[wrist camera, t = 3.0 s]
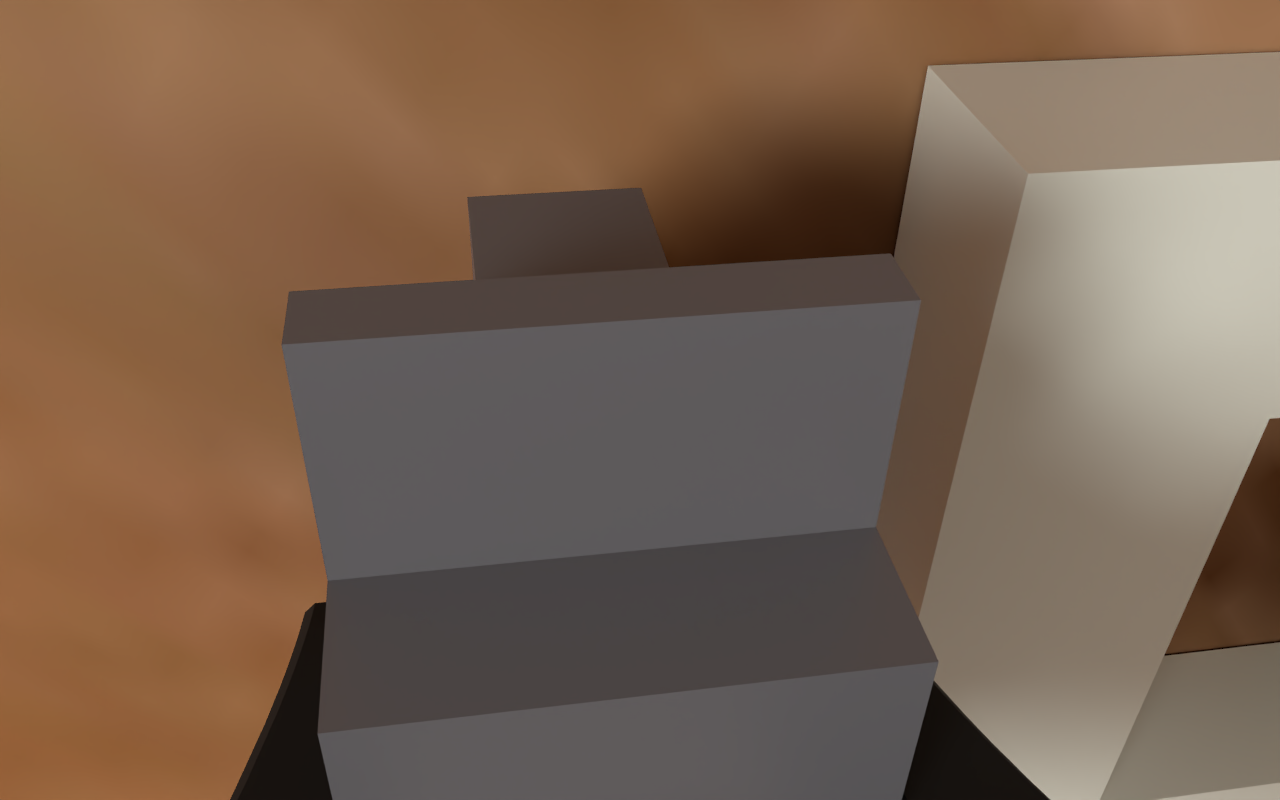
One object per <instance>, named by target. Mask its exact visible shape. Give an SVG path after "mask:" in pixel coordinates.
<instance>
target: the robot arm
mask: <svg viewBox="0 0 1280 800" xmlns="http://www.w3.org/2000/svg"><path fill="white" fill-rule="evenodd" d="M325 615H326V602H323V603H315V604H314V605H313V606H312V607H311V608H309V609H308V610H307V611H306V612H305V615H304V618H303V622H302V625H301V629H300V632H299V636H298V639H297V642H296V645H295V648H294V651H293V654H292V656H291V659H290V662H289V665H288V668H287V670H286V673H285V676H284V678H283V681H282V684H281V686H280V689H279V691H278V694H277V696H276V698H275V701H274V703H273V706H272V708H271V711H270V713H269V716H268V718H267V720H266V723H265V725H264V728H263V730H262V732H261V734H260V736H259V738H258V741H257V743H256V745H255V747H254V749H253V751H252V754H251V756H250V758H249V760H248V762H247V765H246V767H245V769H244V771H243V773H242V775H241V778H240V780H239V782H238V784H237V786H236V789H235V791H234V793H233V795H232V797H231V799H230V800H333V799H332V795H331V790H330V786H329V782H328V777H327V773H326V769H325V764H324V760H323V755H322V751H321V747H320V742H319V738H318V720H319V705H320V690H321V675H322V660H323V645H324V630H325ZM902 800H1050V799H1049V798H1048V797H1047V796H1046V795H1045V794H1044V793H1043V792H1042V791H1041V790H1040V789H1039V788H1037V787H1036V786H1035V785H1034V784H1033V783H1032V782H1031V781H1030V780H1029V779H1028V778H1027V777H1026V776H1025V775H1024V774H1023V773H1022V772H1021V771H1020V770H1019V769H1018V768H1017V767H1016V766H1015V765H1014V764H1013V763H1012V762H1011V761H1010V760H1009V759H1008V758H1007V757H1006V756H1005V755H1004V754H1003V753H1002V752H1001V751H1000V750H999V749H998V748H997V747H996V746H995V745H994V744H993V743H992V742H991V741H990V740H989V739H988V738H987V737H986V736H985V735H984V734H983V733H982V732H981V731H980V730H979V729H978V728H977V727H976V726H975V725H974V724H973V722H972V721H971V720H970V719H969V718H968V717H967V716H966V715H965V714H964V713H963V712H962V711H961V710H960V708H959V707H958V706H957V705H956V704H955V703H954V702H953V701H952V700H951V699H950V698H949V696H948V695H947V694H946V693H945V692H944V691H943V690H942V689H941V688H940V687H939V685H938V684H937V683H936V682H935V681H933V685H932V689H931V692H930V696H929V700H928V704H927V707H926V711H925V715H924V719H923V722H922V726H921V730H920V733H919V737H918V741H917V745H916V748H915V752H914V756H913V760H912V763H911V767H910V771H909V774H908V778H907V782H906V786H905V789H904V793H903V797H902Z"/></svg>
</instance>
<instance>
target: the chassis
mask: <svg viewBox="0 0 1280 800" xmlns="http://www.w3.org/2000/svg"><path fill="white" fill-rule="evenodd" d="M894 259H895V261H896V262H897V264H898V266H899V267H900V269H901V270H902V272H903V273H904V275H905V276H906V278H907V279H908V281H909V282H910V284H911V285H912V287H913V288H914V290H915V291H916V293H917V295H918V296H919V298H920V299H921V303H920V308H919V313H918V318H917V323H916V329H915V334H914V339H913V344H912V349H911V354H910V359H909V364H908V369H907V374H906V379H905V384H904V389H903V394H902V399H901V404H900V409H899V414H898V419H897V424H896V429H895V434H894V439H893V444H892V449H891V454H890V459H889V464H888V469H887V475H886V480H885V485H884V490H883V495H882V500H881V505H880V510H879V515H878V520H877V525H876V528H877V530H878V532H879V534H880V537H881V539H882V541H883V543H884V545H885V547H886V549H887V552H888V554H889V556H890V558H891V560H892V562H893V564H894V567H895V569H896V571H897V573H898V575H899V577H900V579H901V582H902V584H903V586H904V588H905V590H906V592H907V595H908V597H909V599H910V601H911V603H912V605H913V607H914V610H915V612H916V614H917V616H918V618H919V620H920V622H921V625H922V627H923V629H924V631H925V633H926V635H927V638H928V640H929V642H930V644H931V646H932V648H933V650H934V653H935V655H936V657H937V659H938V661H939V663H938V666H937V670H936V674H935V678H934V681H935V682H936V683H937V684H938V685H939V687H940V688H941V689H942V690H943V691H944V692H945V693H946V694H947V695H948V696H949V698H950V699H951V700H952V701H953V702H954V703H955V704H956V705H957V706H958V707H959V708H960V710H961V711H962V712H963V713H964V714H965V715H966V716H967V717H968V718H969V719H970V720H971V721H972V722H973V724H974V725H975V726H976V727H977V728H978V729H979V730H980V731H981V732H982V733H983V734H984V735H985V736H986V737H987V738H988V739H989V740H990V741H991V742H992V743H993V744H994V745H995V746H996V747H997V748H998V749H999V750H1000V751H1001V752H1002V753H1003V754H1004V755H1005V756H1006V757H1007V758H1008V759H1009V760H1010V761H1011V762H1012V763H1013V764H1014V765H1015V766H1016V767H1017V768H1018V769H1019V770H1020V771H1021V772H1022V773H1023V774H1024V775H1025V776H1026V777H1027V778H1028V779H1029V780H1030V781H1031V782H1032V783H1033V784H1034V785H1035V786H1036V787H1037V788H1039V789H1040V790H1041V791H1042V792H1043V793H1044V794H1045V795H1046V796H1047V797H1048V798H1049V799H1050V800H1280V642H1278V643H1270V644H1261V645H1253V646H1244V647H1236V648H1227V649H1218V650H1210V651H1201V652H1193V653H1184V654H1176V655H1167V656H1164V655H1165V653H1166V650H1167V648H1168V646H1169V644H1170V641H1171V639H1172V637H1173V635H1174V632H1175V630H1176V628H1177V626H1178V623H1179V621H1180V619H1181V617H1182V614H1183V612H1184V610H1185V608H1186V605H1187V603H1188V601H1189V599H1190V596H1191V594H1192V592H1193V590H1194V587H1195V585H1196V583H1197V581H1198V578H1199V576H1200V574H1201V572H1202V569H1203V567H1204V565H1205V563H1206V560H1207V558H1208V556H1209V554H1210V551H1211V549H1212V547H1213V545H1214V543H1215V540H1216V538H1217V536H1218V534H1219V531H1220V529H1221V527H1222V525H1223V522H1224V520H1225V518H1226V516H1227V513H1228V511H1229V509H1230V507H1231V504H1232V502H1233V500H1234V498H1235V495H1236V493H1237V491H1238V489H1239V486H1240V484H1241V482H1242V480H1243V477H1244V475H1245V473H1246V471H1247V468H1248V466H1249V464H1250V462H1251V459H1252V457H1253V455H1254V453H1255V450H1256V448H1257V446H1258V444H1259V441H1260V439H1261V437H1262V435H1263V432H1264V430H1265V428H1266V426H1267V423H1268V421H1269V419H1271V418H1280V52H1264V53H1238V54H1212V55H1187V56H1161V57H1136V58H1110V59H1085V60H1059V61H1033V62H1008V63H982V64H957V65H931V66H928V69H927V74H926V80H925V85H924V91H923V97H922V102H921V108H920V113H919V119H918V125H917V130H916V136H915V141H914V147H913V153H912V158H911V164H910V169H909V175H908V181H907V186H906V192H905V197H904V203H903V209H902V214H901V220H900V225H899V231H898V237H897V242H896V248H895V253H894Z"/></svg>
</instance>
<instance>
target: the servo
mask: <svg viewBox="0 0 1280 800" xmlns="http://www.w3.org/2000/svg"><path fill="white" fill-rule="evenodd" d="M467 198H468V211H469V225H470V239H471V253H472V267H473V280H464V281H449V282H433V283H417V284H401V285H386V286H370V287H354V288H338V289H323V290H307V291H291V292H289V296H288V304H287V311H286V318H285V325H284V332H283V339H282V349H283V354H284V359H285V364H286V369H287V374H288V379H289V385H290V390H291V395H292V400H293V405H294V410H295V415H296V420H297V426H298V431H299V436H300V441H301V446H302V451H303V456H304V461H305V467H306V472H307V477H308V482H309V487H310V492H311V497H312V502H313V508H314V513H315V518H316V523H317V528H318V533H319V538H320V543H321V549H322V554H323V559H324V564H325V569H326V574H327V579H328V585H327V600H326V615H325V630H324V645H323V660H322V675H321V690H320V705H319V720H318V738H319V742H320V747H321V751H322V755H323V760H324V764H325V769H326V773H327V777H328V782H329V786H330V790H331V795H332V799H333V800H902V797H903V793H904V789H905V786H906V782H907V778H908V774H909V771H910V767H911V763H912V760H913V756H914V752H915V748H916V745H917V741H918V737H919V733H920V730H921V726H922V722H923V719H924V715H925V711H926V707H927V704H928V700H929V696H930V692H931V689H932V685H933V681H934V678H935V674H936V670H937V666H938V663H939V661H938V659H937V657H936V655H935V653H934V650H933V648H932V646H931V644H930V642H929V640H928V638H927V635H926V633H925V631H924V629H923V627H922V625H921V622H920V620H919V618H918V616H917V614H916V612H915V610H914V607H913V605H912V603H911V601H910V599H909V597H908V595H907V592H906V590H905V588H904V586H903V584H902V582H901V579H900V577H899V575H898V573H897V571H896V569H895V567H894V564H893V562H892V560H891V558H890V556H889V554H888V552H887V549H886V547H885V545H884V543H883V541H882V539H881V537H880V534H879V532H878V530H877V528H876V525H877V520H878V515H879V510H880V505H881V500H882V495H883V490H884V485H885V480H886V475H887V469H888V464H889V459H890V454H891V449H892V444H893V439H894V434H895V429H896V424H897V419H898V414H899V409H900V404H901V399H902V394H903V389H904V384H905V379H906V374H907V369H908V364H909V359H910V354H911V349H912V344H913V339H914V334H915V329H916V323H917V318H918V313H919V308H920V303H921V299H920V298H919V296H918V295H917V293H916V291H915V290H914V288H913V287H912V285H911V284H910V282H909V281H908V279H907V278H906V276H905V275H904V273H903V272H902V270H901V269H900V267H899V266H898V264H897V262H896V261H895V259H894V258H893V256H892V255H891V253H889V254H873V255H858V256H842V257H826V258H811V259H795V260H779V261H763V262H748V263H732V264H716V265H700V266H685V267H669V266H668V263H667V260H666V257H665V254H664V251H663V249H662V246H661V243H660V240H659V237H658V234H657V232H656V229H655V226H654V223H653V220H652V217H651V215H650V212H649V209H648V206H647V203H646V200H645V198H644V195H643V192H642V189H641V188H628V189H609V190H591V191H572V192H553V193H535V194H516V195H497V196H479V197H467Z"/></svg>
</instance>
